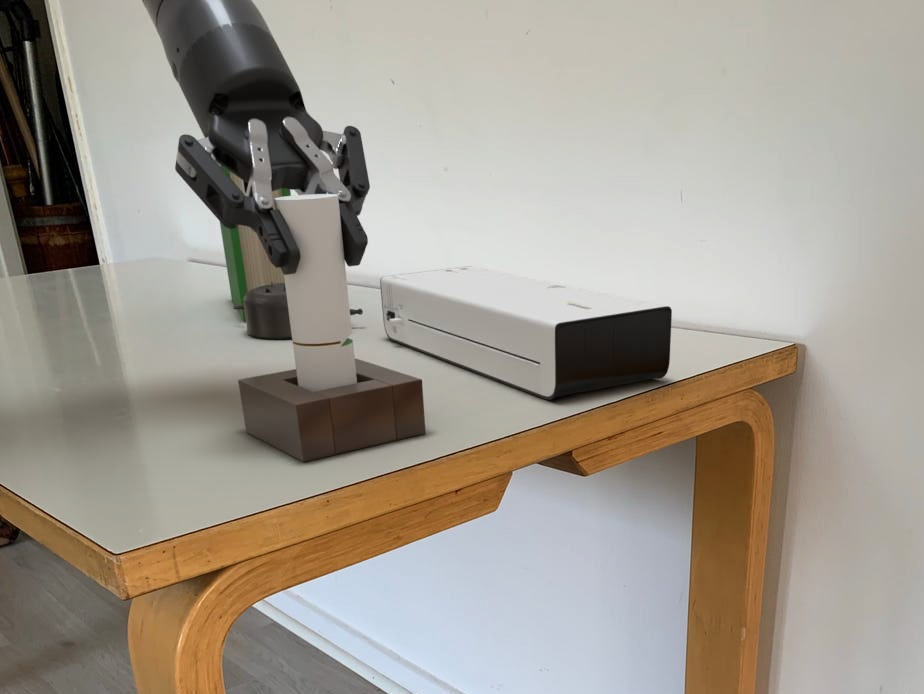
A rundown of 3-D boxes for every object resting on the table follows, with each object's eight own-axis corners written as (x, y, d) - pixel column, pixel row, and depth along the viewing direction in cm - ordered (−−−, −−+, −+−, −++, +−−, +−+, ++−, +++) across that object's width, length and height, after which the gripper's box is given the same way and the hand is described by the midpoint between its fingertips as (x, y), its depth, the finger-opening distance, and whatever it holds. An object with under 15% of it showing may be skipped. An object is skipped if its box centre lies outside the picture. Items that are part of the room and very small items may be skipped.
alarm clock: (372, 324, 112) (276, 322, 121) (365, 274, 110) (268, 275, 119) (301, 343, 104) (205, 338, 114) (293, 289, 102) (195, 289, 111)
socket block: (303, 462, 68) (295, 404, 66) (245, 432, 75) (237, 379, 73) (426, 433, 73) (422, 379, 71) (360, 407, 80) (355, 357, 78)
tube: (324, 428, 71) (296, 200, 64) (291, 417, 74) (261, 198, 67) (371, 415, 73) (350, 194, 66) (338, 405, 76) (314, 193, 69)
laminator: (669, 382, 83) (672, 305, 80) (545, 406, 78) (543, 325, 75) (476, 324, 110) (474, 265, 107) (375, 339, 105) (369, 278, 102)
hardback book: (305, 315, 120) (277, 89, 109) (244, 321, 118) (209, 92, 107) (286, 295, 135) (260, 94, 124) (231, 300, 133) (200, 97, 122)
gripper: (133, 18, 63) (236, 233, 60) (331, 19, 70) (433, 212, 67) (125, 114, 70) (218, 312, 67) (307, 106, 77) (400, 285, 74)
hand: (326, 261), depth 67 cm, fingers closed on tube, 4 cm apart
